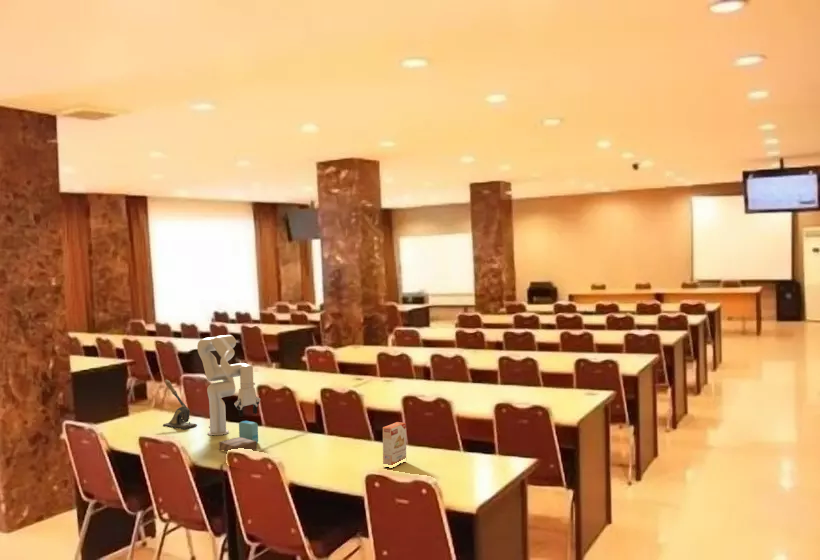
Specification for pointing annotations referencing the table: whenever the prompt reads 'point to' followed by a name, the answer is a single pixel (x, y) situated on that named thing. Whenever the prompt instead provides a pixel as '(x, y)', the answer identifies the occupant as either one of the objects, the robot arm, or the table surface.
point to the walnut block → (237, 444)
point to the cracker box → (394, 443)
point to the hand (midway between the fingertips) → (248, 414)
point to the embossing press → (179, 412)
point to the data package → (248, 430)
